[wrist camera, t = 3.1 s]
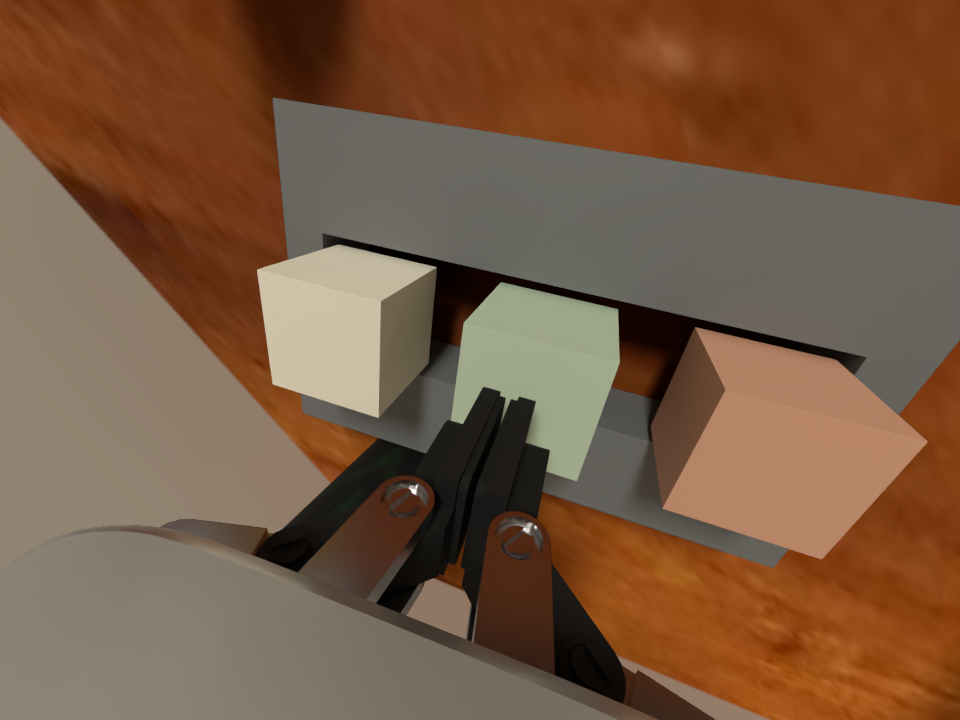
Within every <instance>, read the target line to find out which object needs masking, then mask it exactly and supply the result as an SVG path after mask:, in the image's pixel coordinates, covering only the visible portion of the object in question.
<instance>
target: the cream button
mask: <svg viewBox="0 0 960 720" xmlns="http://www.w3.org/2000/svg"><path fill="white" fill-rule="evenodd" d="M257 273H258V280H259V287H260V295H261V302H262V309H263V317H264V324H265V331H266V339H267V346H268V353H269V360H270V368H271V375H272V382H273V385H277V386H280V387H283V388H286V389H289V390H292V391H295V392H299V393H302V394H305V395H308V396H311V397H314V398H317V399H321V400H324V401H327V402H330V403H333V404H336V405H339V406H342V407H346V408H349V409H352V410H355V411H358V412H361V413H364V414H368V415H371V416H374V417H377V418H379V417H380V416H381V415H382V414H383V413H384V411H385V410H386V409H387V408H388V407H389V406H390V405H391V404H392V403H393V402H394V401H395V399H396V398H397V397H398V396H399V395H400V394H401V393H402V392H403V391H404V390H405V388H406V387H407V386H408V385H409V384H410V383H411V382H412V381H413V380H414V379H415V377H416V376H417V375H418V374H419V373H420V372H421V371H422V370H423V369H424V368H425V366H426V365H427V364H428V363H429V351H430V340H431V329H432V318H433V306H434V295H435V284H436V273H437V267H434V266H430V265H425V264H421V263H417V262H412V261H408V260H404V259H399V258H395V257H391V256H386V255H382V254H378V253H373V252H369V251H365V250H361V249H356V248H352V247H348V246H343V245H335V246H332V247H329V248H326V249H322V250H319V251H316V252H313V253H309V254H306V255H303V256H299V257H296V258H293V259H290V260H286V261H283V262H280V263H277V264H273V265H270V266H267V267H264V268H260V269H257Z"/></svg>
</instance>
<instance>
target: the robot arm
mask: <svg viewBox="0 0 960 720" xmlns="http://www.w3.org/2000/svg"><path fill="white" fill-rule="evenodd" d="M500 393H501V392H500V391H498V390H494V389H491V388H487V387H483V388H482V390H481V391H480V393H479V395H478V397H477V399H476V401H475V403H474V404H473V406H472V408H471V410H470V412H469V414H468V415H467V417H466V419H465V421H464V423H463V424H461V423H458V422H454V421H451V420H447V421H446V422H445V423H444V425H443V427H442V428H441V430H440V431H439V433H438V435H437V436H436V438H435V440H434V441H433V443H432V444H431V446H430V448H429V449H428V451H427V453H426V454H425V456H424V458H423V459H422V461H421V462H420V464H419V466H418V467H417V469H416V471H415V472H414V474H413V475H412V476H398V477H394V478H391V479H389V480H387V481H385V482H384V483H383V484H381V485H380V486H379V487H378V488H377V489H376V490H375V491H374V492H373V494H372V495H371V496H370V497H369V498H368V499H367V500H366V501H365V502H364V503H363V504H362V505H360V506H357V507H353V508H350V509H347V510H343V511H340V512H337V513H334V514H330V515H327V516H324V517H320V518H317V519H314V520H310V521H307V522H304V523H301V524H297V525H294V526H291V527H287V528H285V529H282V530H280V531H278V532H276V533H274V534H273V533H268V531H267V528H260V527H253V526H245V525H236V524H229V523H220V522H212V521H204V520H196V519H179V520H176V521H173V522H169V523H167V524H165V525H163V526H161V527H153V526H140V525H126V526H125V525H122V526H103V527H94V528H88V529H82V530H76V531H73V532H70V533H66V534H63V535H60V536H57V537H55V538H53V539H51V540H48V541H46V542H44V543H42V544H40V545H38V546H36V547H34V548H32V549H30V550H28V551H26V552H25V553H23V554H21V555H19V556H18V557H16V558H14V559H12V560H11V561H9V562H7V563H6V564H4V565H2V566H1V567H0V720H715V719H714V718H712V717H711V716H709V715H707V714H706V713H704V712H703V711H701V710H700V709H698V708H697V707H695V706H693V705H692V704H690V703H689V702H687V701H686V700H684V699H683V698H681V697H679V696H678V695H676V694H675V693H673V692H672V691H670V690H669V689H667V688H665V687H664V686H662V685H661V684H659V683H658V682H656V681H655V680H653V679H651V678H650V677H648V676H647V675H645V674H644V673H642V672H640V671H639V670H638V671H637V672H636V674H634V673H633V672H631V671H630V670H628V669H627V668H625V667H623V666H622V665H621V663H620V661H619V659H618V657H617V655H616V654H615V652H614V650H613V649H612V648H611V646H610V645H609V643H608V642H607V641H606V639H605V638H604V636H603V635H602V633H601V632H600V631H599V629H598V628H597V626H596V625H595V624H594V622H593V621H592V619H591V618H590V617H589V615H588V614H587V612H586V611H585V610H584V608H583V607H582V605H581V604H580V602H579V601H578V600H577V598H576V597H575V595H574V594H573V593H572V591H571V590H570V588H569V587H568V586H567V584H566V583H565V581H564V580H563V579H562V577H561V576H560V574H559V573H558V571H557V570H556V569H555V567H554V566H553V564H552V563H551V543H550V538H549V534H548V532H547V531H546V529H545V527H544V526H543V525H542V524H541V523H540V522H539V521H538V520H537V516H538V511H539V506H540V501H541V496H542V490H543V485H544V480H545V475H546V470H547V464H548V459H549V454H550V450H548V449H545V448H542V447H538V446H535V445H531V444H528V443H526V439H527V435H528V432H529V428H530V424H531V420H532V416H533V412H534V408H535V404H536V401H534V400H530V399H527V398H523V397H519V398H518V400H517V401H516V400H513V399H511V400H510V403H509V405H508V408H507V410H506V413H505V415H504V418H503V420H502V415H503V410H504V406H505V401H506V397H502V396H500ZM501 420H502V423H501ZM466 535H467V537H466ZM465 538H466V542H465V547H464V552H463V558H462V563H461V568H463V569H465V572H464V577H463V582H462V586H463V588H464V590H465V592H466V594H467V596H468V598H469V600H470V602H471V608H470V614H469V620H468V627H467V634H466V639H463V638H461V637H458V636H455V635H453V634H451V633H448V632H446V631H443V630H441V629H438V628H436V627H433V626H431V625H428V624H425V623H423V622H421V621H418V620H415V619H413V618H410V617H408V616H406V615H407V614H408V612H409V610H410V608H411V607H412V605H413V604H414V602H415V601H416V599H417V597H418V596H419V594H420V592H421V590H422V588H423V586H424V582H425V581H428V580H430V579H432V578H435V577H437V576H438V575H439V574H441V575H444V572H445V570H446V567H447V565H448V563H450V564H452V565H455V564H456V562H457V559H458V556H459V554H460V551H461V548H462V546H463V543H464V540H465Z"/></svg>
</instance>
